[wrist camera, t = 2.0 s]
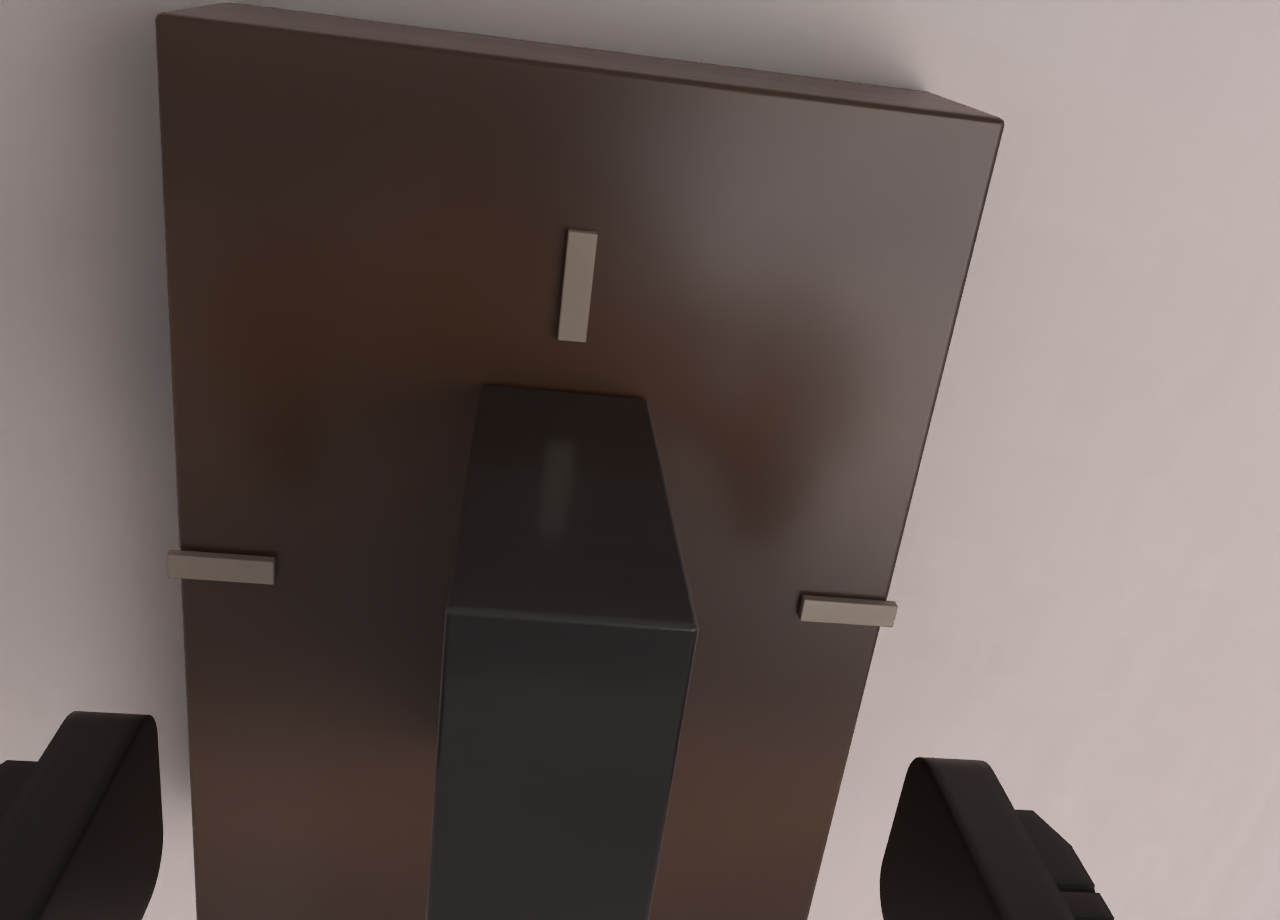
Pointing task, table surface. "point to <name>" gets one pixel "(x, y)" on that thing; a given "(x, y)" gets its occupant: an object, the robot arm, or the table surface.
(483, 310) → the panel
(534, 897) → the lock knob
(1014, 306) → the table surface
